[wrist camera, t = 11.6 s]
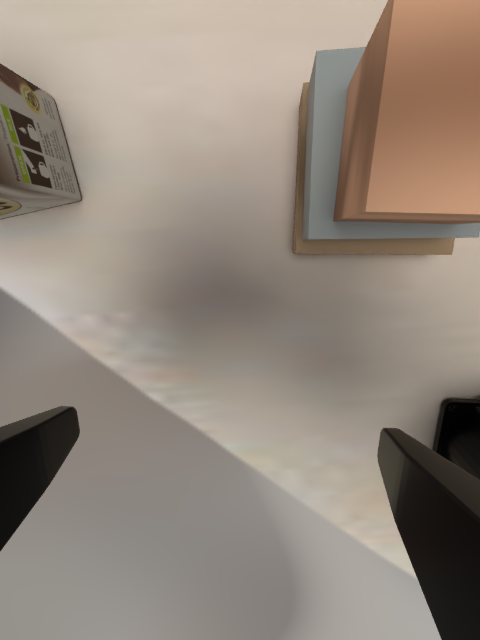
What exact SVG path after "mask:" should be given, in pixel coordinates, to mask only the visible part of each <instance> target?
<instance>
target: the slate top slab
mask: <svg viewBox="0 0 480 640" xmlns="http://www.w3.org/2000/svg"><path fill="white" fill-rule="evenodd" d="M365 49H366V47H361V48H349V49H336V50H324V51H316V56H315V60H314V65H313V69H312V74H311V78H310V83H309V87H308V107H307V133H306V158H305V183H304V209H303V234H302V239H383V238H463V237H479V233H480V223H468V224H426V223H390V222H354V221H333V219H334V210H335V201H336V191H337V182H338V173H339V164H340V154H341V145H342V136H343V127H344V118H345V108H346V99H347V90H348V85H349V83H350V81H351V79H352V77H353V74H354V72H355V70H356V68H357V66H358V64H359V62H360V60H361V57H362V55H363V53H364V51H365Z"/></svg>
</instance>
